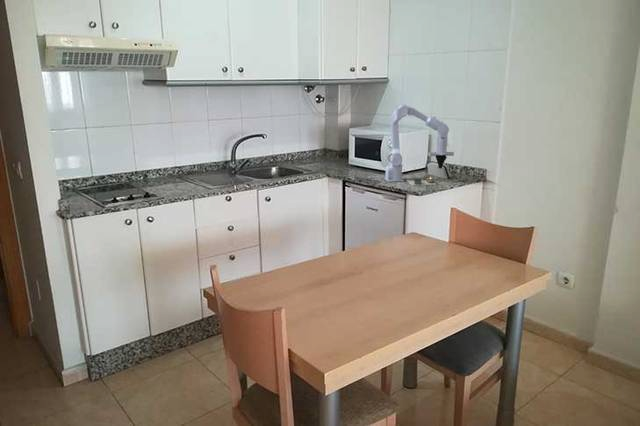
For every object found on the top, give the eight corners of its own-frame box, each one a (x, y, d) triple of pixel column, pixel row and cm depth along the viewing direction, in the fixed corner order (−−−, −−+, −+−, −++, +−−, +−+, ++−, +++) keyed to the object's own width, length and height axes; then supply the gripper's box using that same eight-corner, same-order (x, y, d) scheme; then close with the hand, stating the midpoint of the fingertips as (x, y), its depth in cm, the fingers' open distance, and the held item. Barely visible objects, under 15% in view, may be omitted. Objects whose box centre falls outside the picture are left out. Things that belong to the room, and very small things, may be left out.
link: (435, 183, 278) (435, 180, 278) (429, 183, 278) (429, 180, 278) (428, 178, 290) (428, 176, 289) (422, 178, 289) (422, 176, 289)
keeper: (415, 184, 275) (415, 179, 275) (412, 182, 281) (412, 177, 280) (421, 184, 276) (421, 179, 275) (418, 182, 281) (418, 177, 280)
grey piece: (452, 177, 296) (449, 163, 292) (446, 181, 295) (443, 166, 290) (434, 172, 310) (431, 158, 306) (428, 176, 309) (425, 161, 305)
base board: (412, 185, 275) (412, 184, 275) (406, 180, 287) (406, 179, 287) (436, 185, 277) (436, 184, 276) (429, 180, 289) (429, 179, 289)
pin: (430, 179, 278) (430, 178, 278) (428, 179, 280) (429, 177, 280) (433, 179, 279) (433, 178, 278) (432, 179, 280) (432, 177, 280)
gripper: (431, 146, 274) (430, 169, 278) (456, 145, 276) (454, 169, 280) (427, 144, 281) (426, 167, 285) (452, 143, 283) (450, 166, 287)
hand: (440, 168), depth 283 cm, fingers closed
